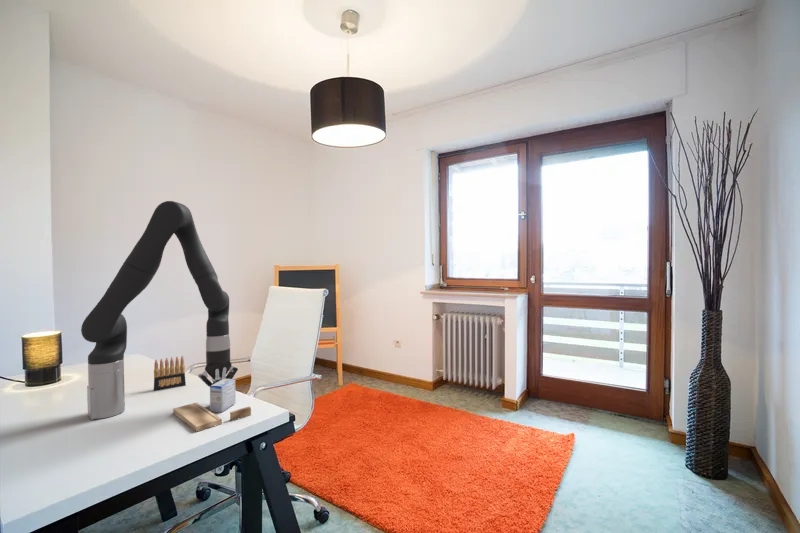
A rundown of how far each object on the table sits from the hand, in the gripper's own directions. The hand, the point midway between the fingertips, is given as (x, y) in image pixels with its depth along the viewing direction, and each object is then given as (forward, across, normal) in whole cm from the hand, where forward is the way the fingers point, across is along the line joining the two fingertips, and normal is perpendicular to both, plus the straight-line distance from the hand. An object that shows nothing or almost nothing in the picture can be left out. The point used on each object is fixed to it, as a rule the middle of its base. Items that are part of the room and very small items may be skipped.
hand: (219, 397), depth 129 cm
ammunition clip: (+2, +5, -34) cm, 34 cm away
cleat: (+2, 0, +17) cm, 18 cm away
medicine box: (+2, +1, +5) cm, 6 cm away
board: (+2, +10, +7) cm, 12 cm away
